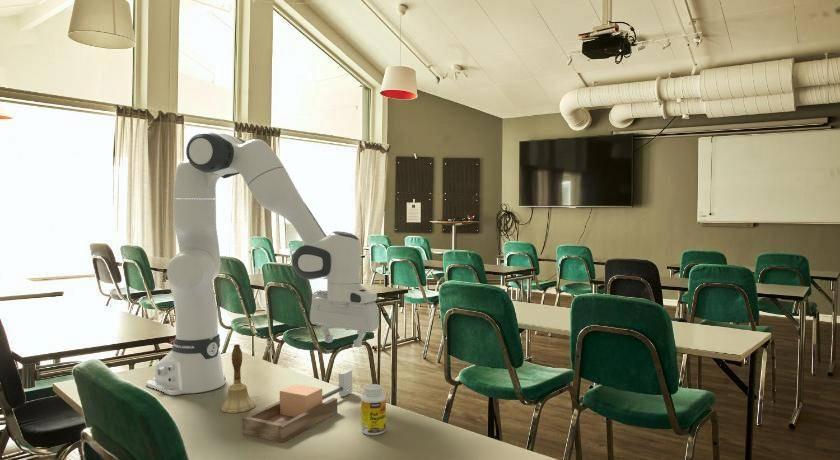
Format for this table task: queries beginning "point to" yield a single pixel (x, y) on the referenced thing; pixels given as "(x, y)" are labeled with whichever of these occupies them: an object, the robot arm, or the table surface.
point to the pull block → (310, 395)
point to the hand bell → (237, 388)
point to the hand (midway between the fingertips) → (342, 344)
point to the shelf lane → (285, 421)
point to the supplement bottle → (373, 410)
